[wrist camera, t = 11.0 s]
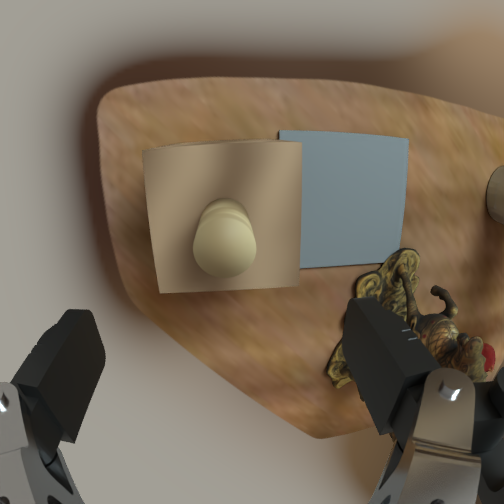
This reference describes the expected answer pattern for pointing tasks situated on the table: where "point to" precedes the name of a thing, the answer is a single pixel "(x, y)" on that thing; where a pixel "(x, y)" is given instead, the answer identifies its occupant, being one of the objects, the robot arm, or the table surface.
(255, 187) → the cover
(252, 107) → the table surface
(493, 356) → the onion
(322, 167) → the mat
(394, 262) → the figurine
